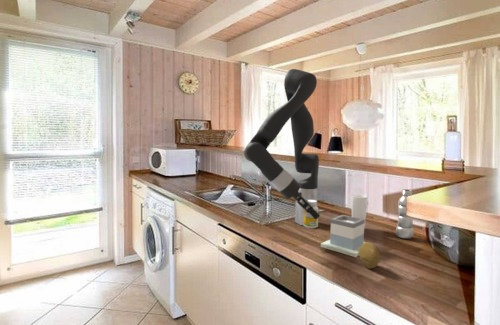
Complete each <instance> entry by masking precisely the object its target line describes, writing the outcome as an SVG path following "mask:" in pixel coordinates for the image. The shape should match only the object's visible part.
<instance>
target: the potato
mask: <svg viewBox="0 0 500 325" xmlns="http://www.w3.org/2000/svg"><path fill="white" fill-rule="evenodd" d="M364 242H365V243H364V244H363V245H362V246H361V247H360V250H359V256H358V257H359V259H360V261H361V263H363V265H364V266H365V267H366V268H367V269H370V270H371V269H374V268H376V267H377V266H378V264H379V263H380V258H381V255H380V252H379V249H377V247H376V246H375V245H374V243H371V242H370V241H364Z"/></svg>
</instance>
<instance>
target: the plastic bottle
mask: <svg viewBox="0 0 500 325" xmlns="http://www.w3.org/2000/svg"><path fill="white" fill-rule="evenodd" d="M410 195H411V196H412V195H413V190H412V189H402V191H401V197H399V199H398V201H397V208H398V213H397V214H398V219H397V225H396V228H395V235H396V236H397V237H398V238H401V239H407V240H408V239H411V238H413V236H414V223H413V220H414V219H413V218H414V217H413V218H410V217H407V216H406V197H408V196H410Z"/></svg>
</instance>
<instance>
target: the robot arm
mask: <svg viewBox="0 0 500 325" xmlns="http://www.w3.org/2000/svg"><path fill="white" fill-rule="evenodd" d="M283 82H284V83H283V86H284V92H285V96H286V99H287V101H286V103H284V104H283V105H281V106H280V107H278V108H276V109H275V110H273V111H272V112H271V113H269V114H268V115H267V116H266V118H265V119H264V121H263V122H262V124H261V125H260V127H259V128H258V130H257V132H256V133H255V135H254V136H253V137H252V139H251V140H250V141H249V142H248V144H247V145H246V147H245V148H244V151H243V152H244V153H243V154H244V157H245V159H246V160H247V161H249V162H251V163H252V164H254V166H256V167H257V168H258V169H259V170H260V172H261V174H262V175H263V176H264V177H265V178H266V179H267V181H268V182H270V183H271V185H272V186H273V187H274V188H275V189H276V191H277V192H279V194H281V195H282V197H283V198H284V199H286V200H289V199H293V200H294V202H295V203H294V204H295V206H294V207H295V208H294V210H295V212H294V214H295V216H294V223H295V224H296V223H297V225H300V226H304V209H305V210H306V211H307V213H310V214H311V215H312V216H313V217H314V218H315V219H317V218H318V219H319V218H320V216H321V215H320V214H319V212H318V213H317V212H316V211H315V210H314V209H313V207H312V206H311V205H310V204H309V201H308V200H316V201H317V202H318V186H319V185H318V184H319V182H318V180H319V179H318V178H319V167H320V158H319V155H318V154H317V153H303V151H304V149H305V147H306V146H307V145H308V144H309V142H311V140H312V138H313V136H314V134H315V131H314V119H313V116H312V114H311V113H310V110H309V109H308V108H307V106H306V104H305V103H306V102H307V100H308V99H309V98H310V97H311V96H312V95H313V94H314V92H315V90H316V88H317V86H318V85H317V84H318V80H317V76H316V75H315V74H313V73H311V72H309V71H304V70H302V69H297V68H292V69H290V70H288V71H287V72H286V73H285V76H284V80H283ZM289 120H290V126H291V133H292V135H291V136H292V140H293V142H292V143H293V149H294V150H293V151H294V152H293V153H294V168H295V170H296V172H297V173H299V174H310V176H309V177H307V178H304V179H301V180H299V181H297V179H295V178H294V177H293V176H292V175H291V174H290V173H289V172H288V171H287V170H286V169H285V168H283V166H282V165H281V164H280V163H278V162H277V161H276V159H274V157H273V156H272V155H271V153H270V152H269V151H268V147H269V145H270V144H271V143H273V142H274V140H276V138H277V137H278V135H279V133H280V132H281V130H282V129H283V127H284V126H285V125H286V124H287V123H288V121H289ZM306 201H307V202H306ZM307 206H309V208H308V209H306V207H307ZM316 206H317V207H318V204H317V205H316Z"/></svg>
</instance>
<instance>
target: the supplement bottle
mask: <svg viewBox="0 0 500 325" xmlns="http://www.w3.org/2000/svg"><path fill="white" fill-rule="evenodd" d="M308 201H309V204H310V205H311V206H312V207H313V209H314V210H315V211H316V212H317V213H318V214H319V207H318V200H317V201H316V200H308ZM306 202H307V201H306ZM316 205H317V206H316ZM308 208H309V206H307V207H306V209H308ZM303 226H304V227H305V228H309V229H315V228H318V227H319V217H318V218H317V219H315V218H314V217H313V216H312V215H311V214H310V213H307V211H306V210H305V209H304V225H303Z"/></svg>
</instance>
